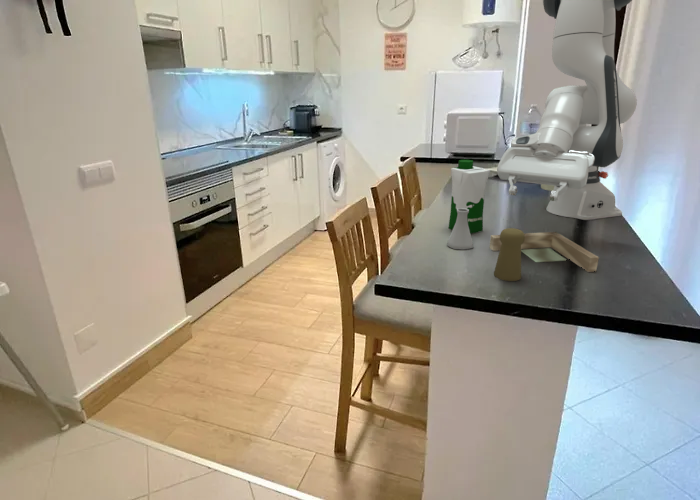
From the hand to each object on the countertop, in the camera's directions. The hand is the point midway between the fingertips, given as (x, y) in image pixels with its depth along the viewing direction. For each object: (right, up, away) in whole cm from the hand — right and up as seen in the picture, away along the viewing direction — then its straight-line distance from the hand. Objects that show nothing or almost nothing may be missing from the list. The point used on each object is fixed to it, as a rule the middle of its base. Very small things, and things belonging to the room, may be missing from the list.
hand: (532, 196), depth 105 cm
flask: (-13, -12, +15) cm, 23 cm away
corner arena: (+4, -15, +6) cm, 16 cm away
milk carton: (-9, -7, +27) cm, 29 cm away
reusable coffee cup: (+38, +12, +72) cm, 82 cm away
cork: (-7, -19, -3) cm, 20 cm away
